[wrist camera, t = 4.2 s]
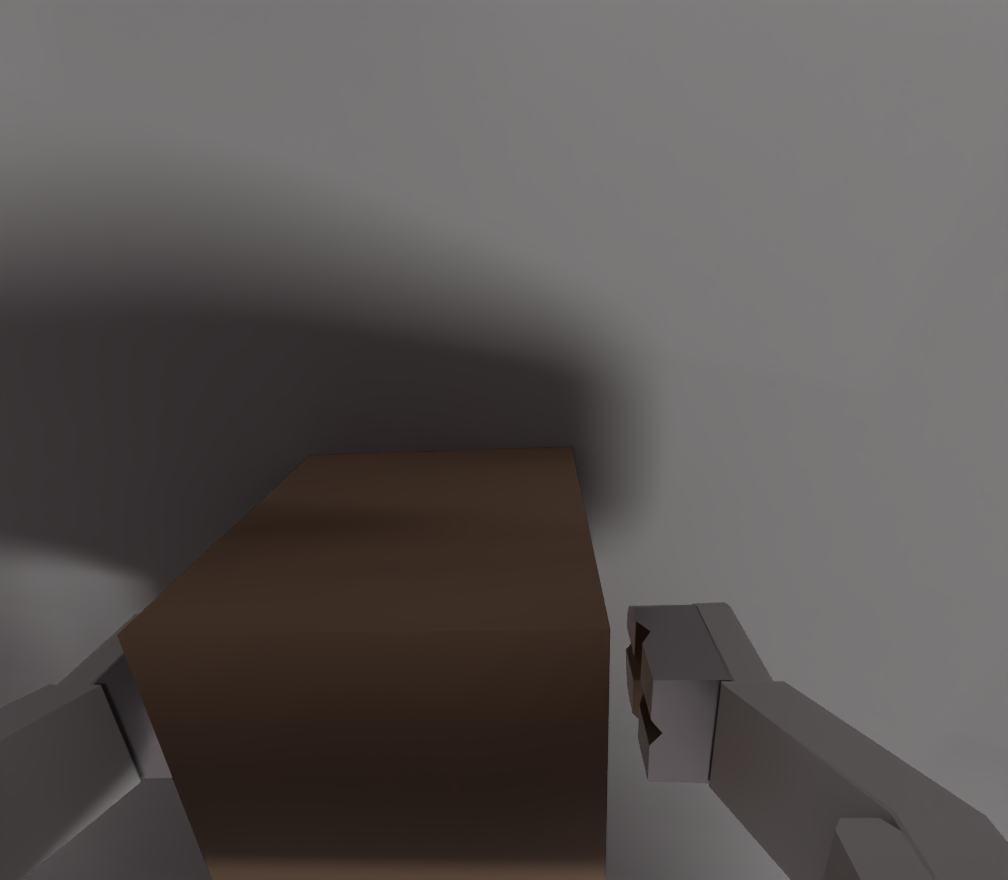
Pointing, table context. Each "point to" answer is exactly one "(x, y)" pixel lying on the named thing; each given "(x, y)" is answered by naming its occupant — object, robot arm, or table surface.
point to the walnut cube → (391, 674)
